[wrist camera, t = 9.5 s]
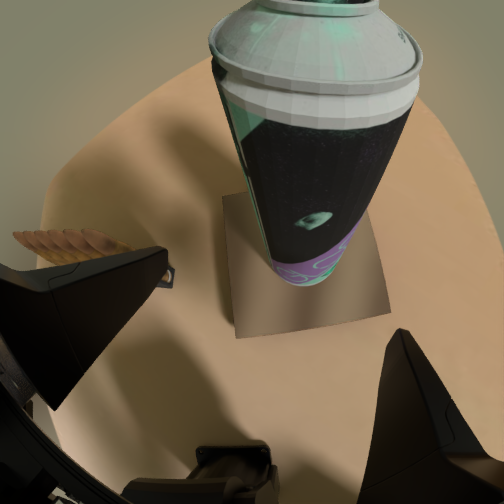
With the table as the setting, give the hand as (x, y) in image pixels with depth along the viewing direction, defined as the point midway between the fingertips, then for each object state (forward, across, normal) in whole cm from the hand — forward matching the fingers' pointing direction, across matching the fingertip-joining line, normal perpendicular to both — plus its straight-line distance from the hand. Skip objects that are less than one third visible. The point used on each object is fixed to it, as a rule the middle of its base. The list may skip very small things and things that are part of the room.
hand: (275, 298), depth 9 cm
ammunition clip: (+9, +16, +11) cm, 21 cm away
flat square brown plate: (+14, 0, +6) cm, 15 cm away
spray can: (+12, 0, +4) cm, 12 cm away
